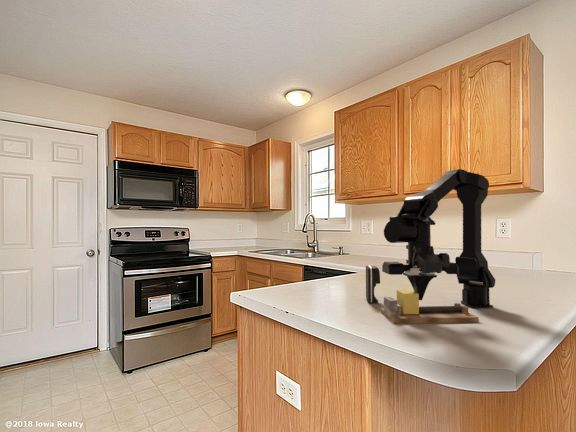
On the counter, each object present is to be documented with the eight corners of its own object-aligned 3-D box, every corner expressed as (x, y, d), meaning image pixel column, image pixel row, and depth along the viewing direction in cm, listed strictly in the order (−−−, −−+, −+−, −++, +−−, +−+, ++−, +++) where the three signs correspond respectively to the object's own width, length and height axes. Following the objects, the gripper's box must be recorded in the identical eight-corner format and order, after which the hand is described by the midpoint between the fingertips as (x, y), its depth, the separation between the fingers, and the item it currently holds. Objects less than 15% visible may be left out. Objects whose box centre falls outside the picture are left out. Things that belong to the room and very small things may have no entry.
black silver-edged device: (381, 304, 99) (380, 267, 100) (368, 303, 100) (368, 267, 100) (377, 298, 106) (376, 264, 106) (365, 298, 107) (365, 264, 107)
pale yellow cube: (411, 309, 88) (410, 289, 88) (419, 314, 83) (418, 293, 83) (396, 309, 87) (396, 290, 88) (404, 314, 83) (403, 293, 83)
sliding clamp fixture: (456, 311, 91) (455, 293, 91) (478, 321, 81) (478, 302, 81) (380, 312, 90) (380, 294, 90) (394, 323, 80) (393, 303, 80)
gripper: (396, 243, 77) (397, 308, 77) (471, 243, 78) (472, 307, 78) (381, 241, 88) (381, 297, 88) (446, 241, 89) (447, 296, 89)
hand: (419, 299), depth 85 cm, fingers closed
